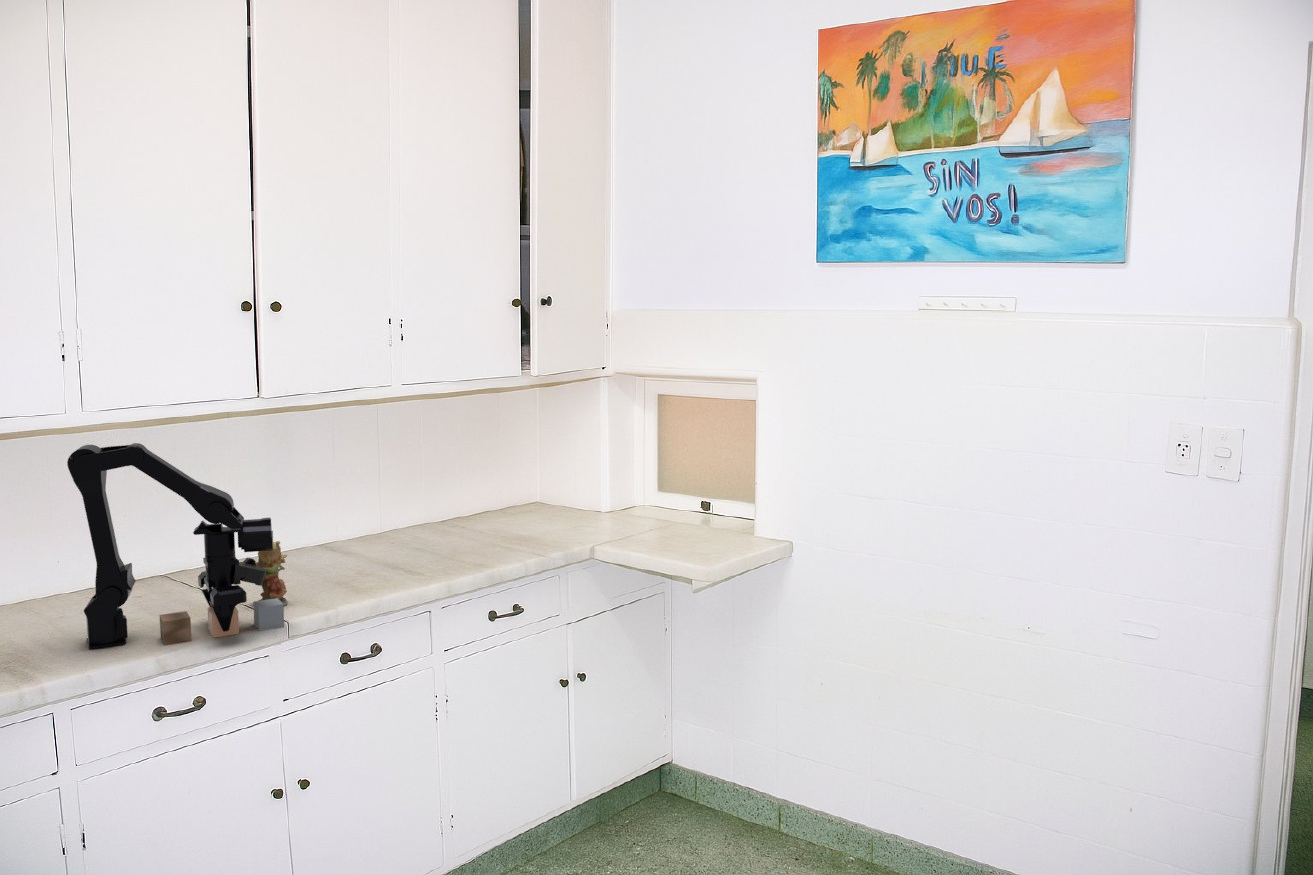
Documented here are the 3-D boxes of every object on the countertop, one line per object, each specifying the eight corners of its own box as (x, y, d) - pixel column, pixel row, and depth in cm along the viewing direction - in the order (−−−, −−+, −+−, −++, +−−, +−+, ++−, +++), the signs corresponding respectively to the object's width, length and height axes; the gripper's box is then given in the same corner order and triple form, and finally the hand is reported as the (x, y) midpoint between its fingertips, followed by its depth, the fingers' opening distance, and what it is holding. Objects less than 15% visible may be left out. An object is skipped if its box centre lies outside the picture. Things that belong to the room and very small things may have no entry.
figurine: (293, 600, 234) (291, 536, 232) (282, 610, 226) (280, 544, 224) (253, 599, 233) (250, 535, 231) (241, 609, 226) (238, 543, 224)
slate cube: (259, 631, 212) (258, 607, 212) (254, 624, 216) (253, 601, 216) (284, 627, 215) (283, 604, 214) (278, 620, 219) (277, 598, 218)
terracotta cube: (212, 637, 207) (211, 613, 207) (208, 630, 211) (207, 607, 211) (239, 633, 210) (238, 610, 209) (234, 626, 214) (233, 603, 214)
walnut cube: (164, 645, 202) (162, 621, 202) (160, 638, 207) (159, 614, 206) (191, 641, 205) (190, 617, 204) (187, 634, 209) (186, 611, 209)
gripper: (271, 558, 205) (274, 633, 207) (251, 539, 221) (254, 609, 223) (212, 565, 199) (215, 642, 201) (196, 545, 215) (199, 617, 217)
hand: (223, 627), depth 211 cm, fingers closed on terracotta cube, 5 cm apart
